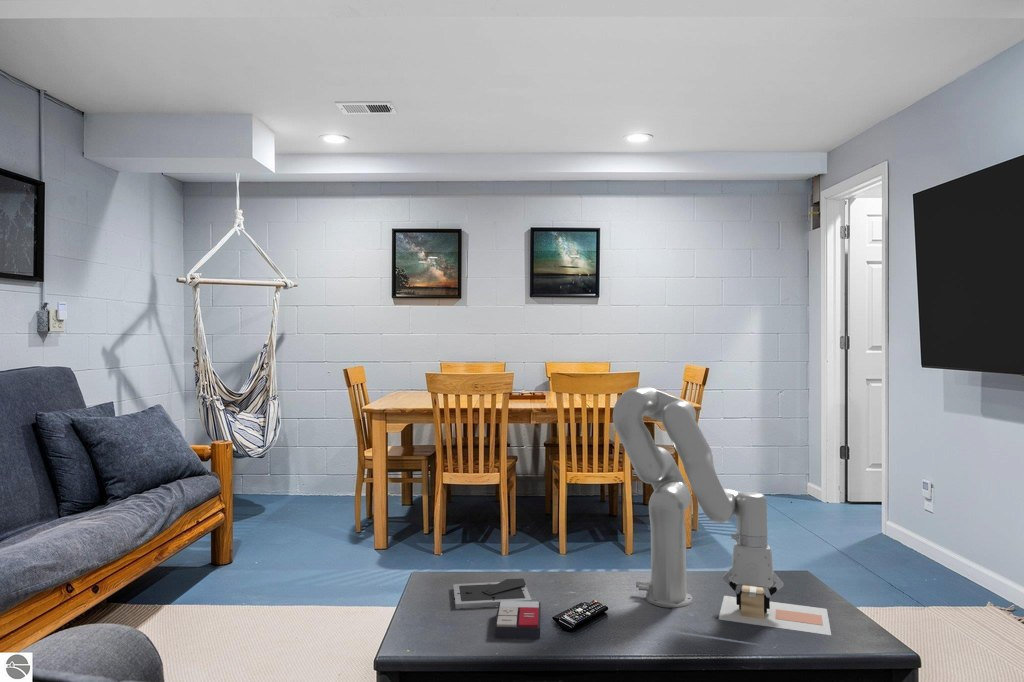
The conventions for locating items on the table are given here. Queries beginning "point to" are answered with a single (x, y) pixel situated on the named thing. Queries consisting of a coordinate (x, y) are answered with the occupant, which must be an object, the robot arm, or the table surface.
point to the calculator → (518, 620)
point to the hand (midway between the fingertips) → (753, 608)
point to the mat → (780, 616)
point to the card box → (752, 602)
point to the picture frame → (490, 593)
